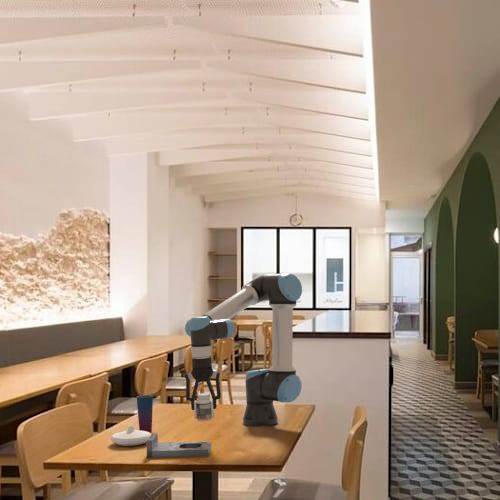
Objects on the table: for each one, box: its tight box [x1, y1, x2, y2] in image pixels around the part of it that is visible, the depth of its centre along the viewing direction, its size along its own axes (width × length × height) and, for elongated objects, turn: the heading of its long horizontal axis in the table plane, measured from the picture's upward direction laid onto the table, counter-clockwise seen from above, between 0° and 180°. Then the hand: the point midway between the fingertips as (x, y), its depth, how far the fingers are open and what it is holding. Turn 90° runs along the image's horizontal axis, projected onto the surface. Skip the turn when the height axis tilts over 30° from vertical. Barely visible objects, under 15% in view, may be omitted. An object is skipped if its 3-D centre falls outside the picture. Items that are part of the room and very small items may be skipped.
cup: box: [136, 394, 154, 434], centre depth 302 cm, size 7×7×15 cm
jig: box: [145, 432, 212, 459], centre depth 264 cm, size 22×13×6 cm, turn 89°
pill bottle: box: [196, 392, 213, 423], centre depth 275 cm, size 6×6×10 cm
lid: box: [110, 424, 152, 447], centre depth 281 cm, size 16×16×7 cm
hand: (204, 417), depth 275 cm, fingers closed on pill bottle, 6 cm apart
